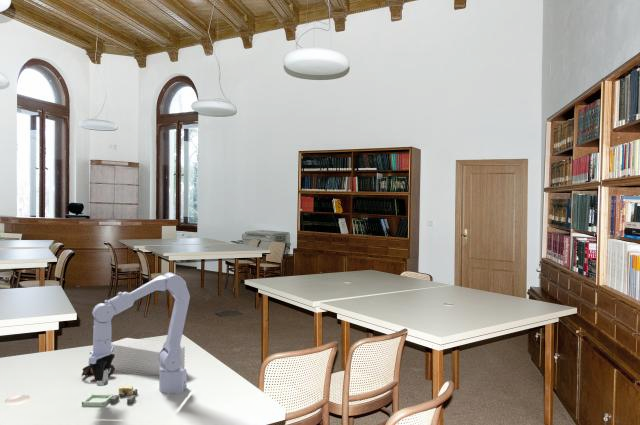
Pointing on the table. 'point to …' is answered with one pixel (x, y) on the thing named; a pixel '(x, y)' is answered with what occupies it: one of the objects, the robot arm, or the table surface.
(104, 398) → the tray
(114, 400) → the board
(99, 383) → the shiny metal cylinder
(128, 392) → the tan rectangular block
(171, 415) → the table surface
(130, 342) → the long grey box
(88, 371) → the brown piece
